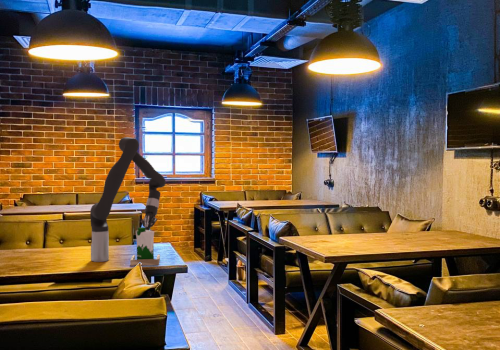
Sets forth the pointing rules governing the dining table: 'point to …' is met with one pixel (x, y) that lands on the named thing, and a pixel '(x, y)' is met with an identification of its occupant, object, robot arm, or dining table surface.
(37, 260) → the dining table surface
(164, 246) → the dining table surface
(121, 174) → the robot arm
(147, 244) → the soya milk
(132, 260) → the stop tray
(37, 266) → the dining table surface
